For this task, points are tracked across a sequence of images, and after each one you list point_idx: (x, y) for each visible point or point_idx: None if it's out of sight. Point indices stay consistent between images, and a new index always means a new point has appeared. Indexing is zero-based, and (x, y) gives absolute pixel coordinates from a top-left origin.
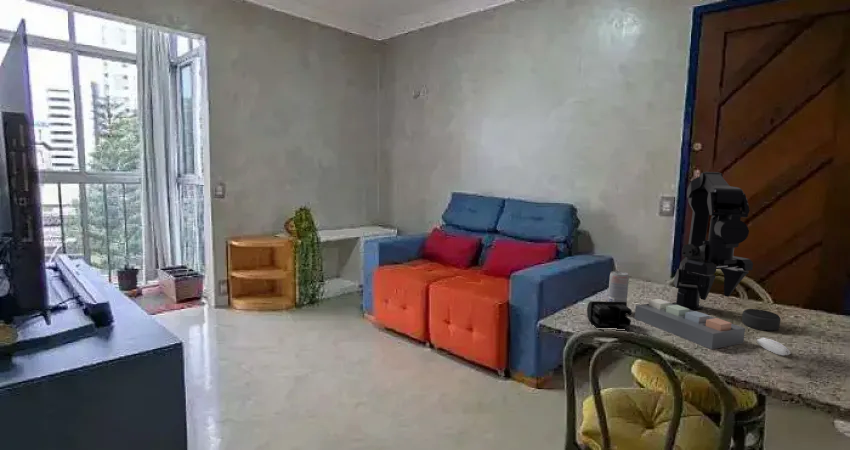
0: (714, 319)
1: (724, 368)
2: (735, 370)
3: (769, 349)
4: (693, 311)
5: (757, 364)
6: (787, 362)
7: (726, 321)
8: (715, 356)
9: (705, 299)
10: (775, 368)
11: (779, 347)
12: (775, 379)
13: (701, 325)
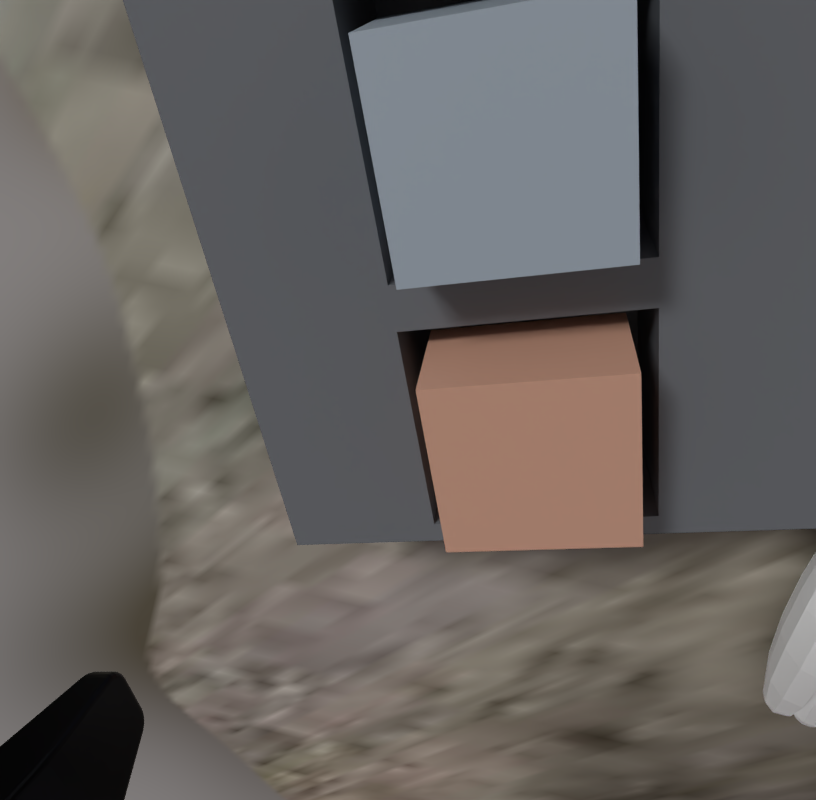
0: (542, 410)
1: (189, 650)
2: (235, 678)
3: (788, 605)
4: (557, 2)
5: (447, 674)
6: (687, 710)
7: (634, 497)
8: (263, 538)
9: (135, 734)
10: (505, 726)
11: (785, 699)
12: (367, 778)
13: (363, 346)
